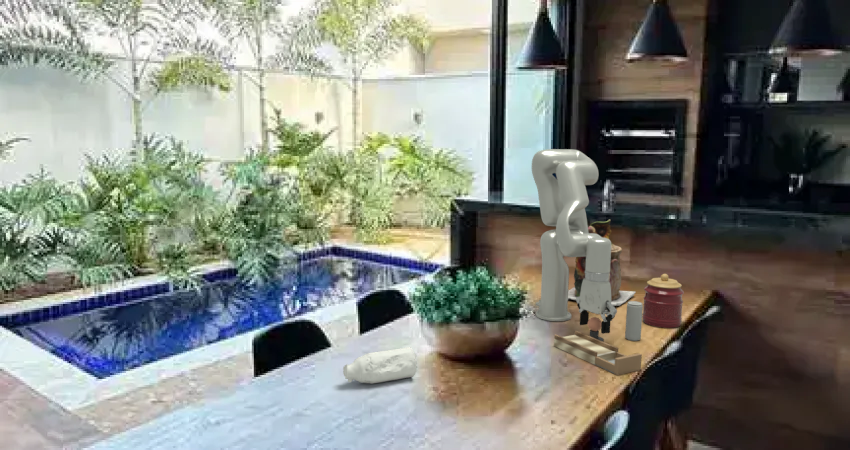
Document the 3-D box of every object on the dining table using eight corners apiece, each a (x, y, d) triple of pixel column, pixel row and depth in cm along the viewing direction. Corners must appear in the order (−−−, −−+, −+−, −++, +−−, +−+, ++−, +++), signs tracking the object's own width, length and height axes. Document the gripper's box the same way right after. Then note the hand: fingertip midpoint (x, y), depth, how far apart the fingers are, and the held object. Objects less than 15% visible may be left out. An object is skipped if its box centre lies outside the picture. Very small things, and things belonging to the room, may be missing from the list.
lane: (553, 345, 201) (554, 334, 200) (576, 341, 205) (576, 330, 205) (594, 364, 185) (595, 352, 185) (617, 359, 189) (618, 348, 189)
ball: (584, 329, 208) (584, 316, 207) (594, 327, 210) (595, 314, 209) (593, 333, 204) (594, 320, 203) (604, 331, 206) (605, 318, 205)
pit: (594, 364, 185) (595, 349, 185) (617, 359, 189) (618, 345, 189) (617, 375, 178) (618, 359, 177) (640, 369, 182) (641, 354, 181)
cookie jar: (579, 287, 276) (583, 213, 271) (636, 296, 262) (641, 218, 257) (554, 299, 256) (558, 219, 252) (615, 310, 242) (620, 225, 237)
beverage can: (641, 341, 206) (643, 305, 204) (625, 340, 207) (627, 304, 205) (639, 337, 211) (641, 301, 209) (624, 336, 211) (626, 300, 210)
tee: (580, 338, 209) (580, 329, 208) (594, 335, 211) (594, 326, 211) (593, 343, 203) (593, 334, 203) (607, 341, 206) (608, 332, 206)
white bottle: (340, 381, 171) (339, 352, 170) (405, 370, 179) (405, 343, 178) (349, 392, 164) (349, 362, 163) (417, 380, 172) (417, 352, 171)
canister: (640, 325, 223) (644, 275, 220) (643, 315, 235) (646, 268, 232) (681, 330, 218) (684, 279, 216) (681, 320, 230) (685, 271, 227)
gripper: (569, 272, 210) (567, 323, 212) (608, 283, 195) (605, 338, 197) (587, 270, 214) (584, 320, 216) (626, 281, 198) (623, 334, 201)
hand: (594, 328), depth 207 cm, fingers open, 9 cm apart
